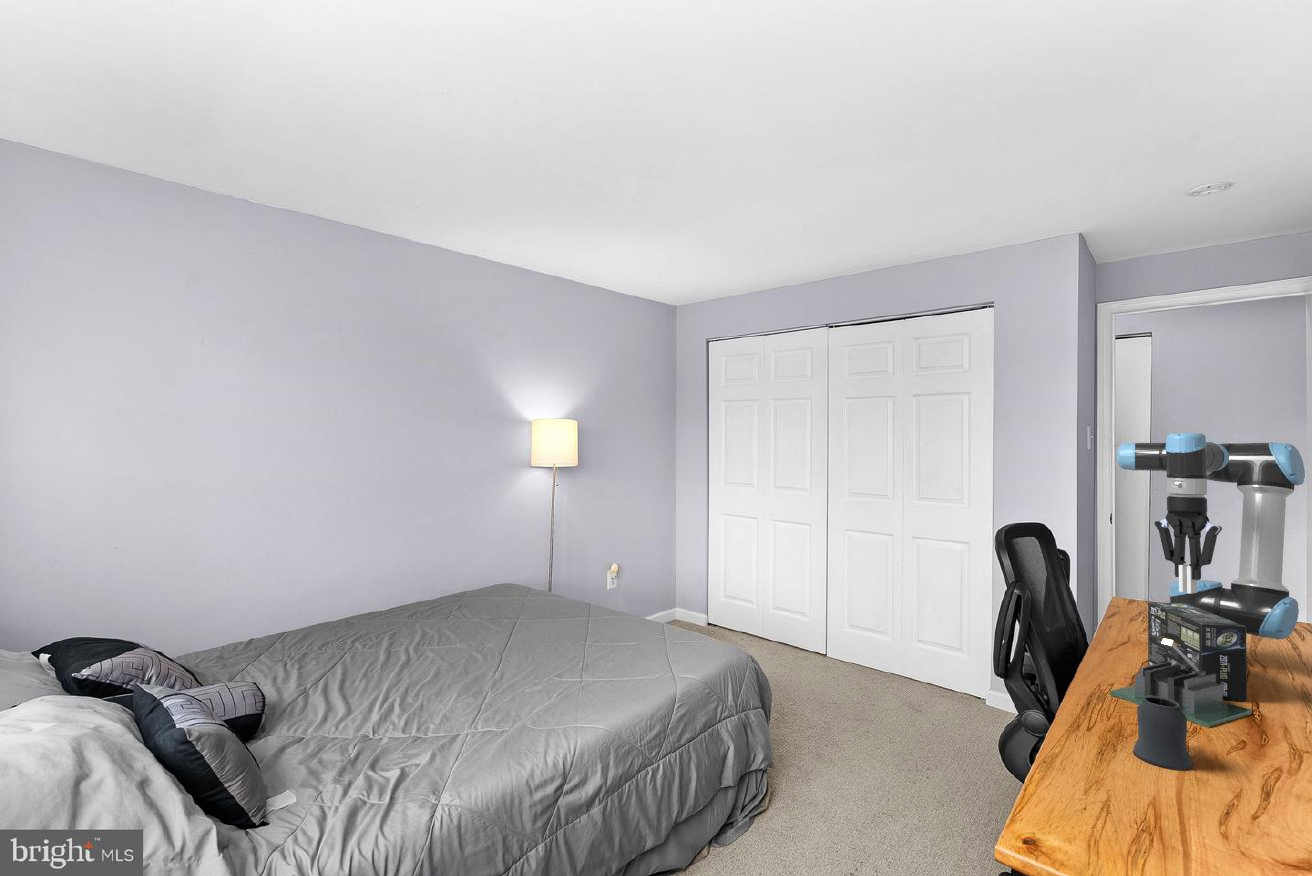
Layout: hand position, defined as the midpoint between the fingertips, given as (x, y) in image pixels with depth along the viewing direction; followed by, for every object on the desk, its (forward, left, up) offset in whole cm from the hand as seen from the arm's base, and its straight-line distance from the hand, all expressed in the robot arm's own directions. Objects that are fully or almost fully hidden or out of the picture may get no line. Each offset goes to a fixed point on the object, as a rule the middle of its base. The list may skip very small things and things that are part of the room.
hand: (1188, 591), depth 151 cm
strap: (+3, 0, -16) cm, 17 cm away
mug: (+39, +14, -27) cm, 49 cm away
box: (-15, -6, -27) cm, 31 cm away
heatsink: (+5, 0, -26) cm, 27 cm away
